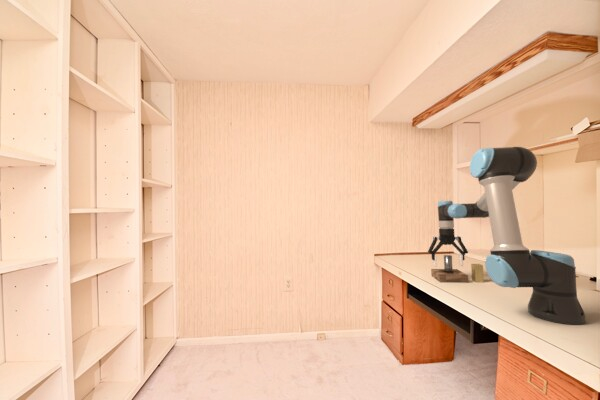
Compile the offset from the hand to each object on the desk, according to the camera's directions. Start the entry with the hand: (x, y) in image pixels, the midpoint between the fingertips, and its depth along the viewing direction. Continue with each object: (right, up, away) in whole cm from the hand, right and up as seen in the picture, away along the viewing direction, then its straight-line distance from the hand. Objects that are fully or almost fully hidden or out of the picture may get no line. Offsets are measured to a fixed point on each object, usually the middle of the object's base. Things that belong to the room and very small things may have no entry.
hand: (448, 266), depth 149 cm
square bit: (+12, -7, -6) cm, 15 cm away
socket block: (0, -7, 0) cm, 7 cm away
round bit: (0, -6, 0) cm, 6 cm away
